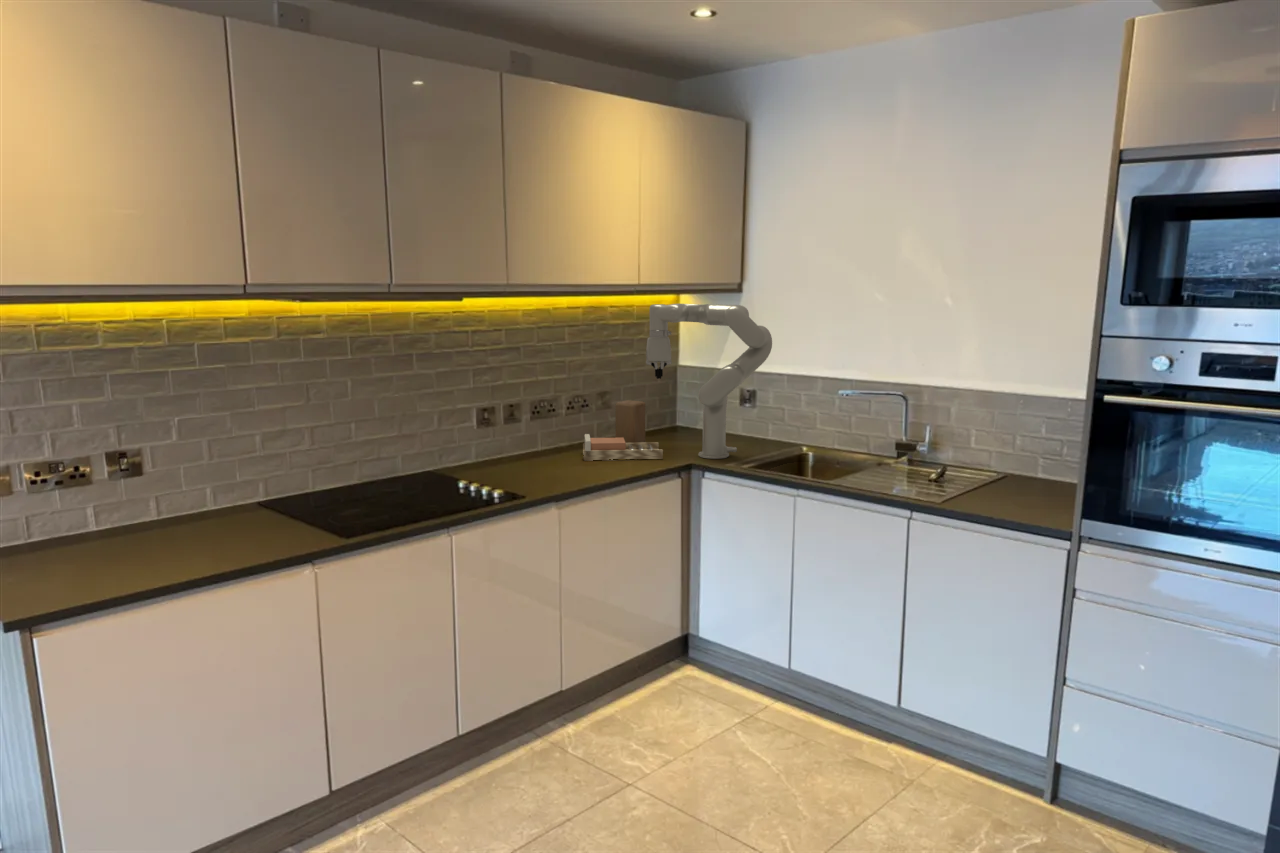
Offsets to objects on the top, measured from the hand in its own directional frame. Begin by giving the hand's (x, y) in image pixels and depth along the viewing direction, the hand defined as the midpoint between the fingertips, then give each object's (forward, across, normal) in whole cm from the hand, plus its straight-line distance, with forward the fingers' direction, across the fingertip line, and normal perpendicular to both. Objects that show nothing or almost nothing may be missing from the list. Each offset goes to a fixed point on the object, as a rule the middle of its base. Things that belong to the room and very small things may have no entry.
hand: (658, 378), depth 345 cm
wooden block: (+32, +11, -13) cm, 36 cm away
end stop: (+30, +31, +6) cm, 43 cm away
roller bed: (+32, +16, +6) cm, 36 cm away
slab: (+28, +22, +6) cm, 36 cm away
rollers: (+30, +16, +6) cm, 35 cm away
